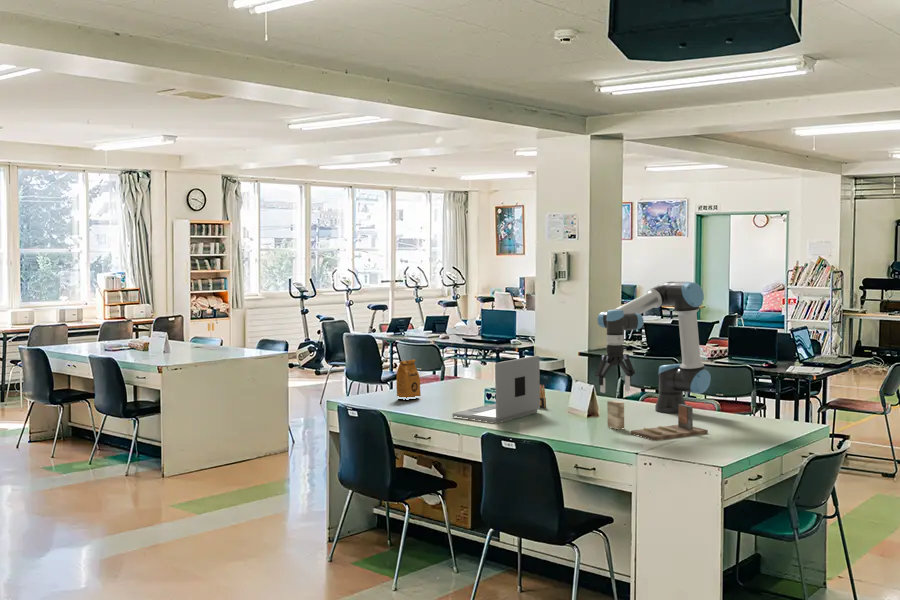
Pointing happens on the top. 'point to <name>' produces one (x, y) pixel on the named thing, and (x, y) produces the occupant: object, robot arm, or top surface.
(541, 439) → the top surface
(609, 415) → the maple finger
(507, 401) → the laptop
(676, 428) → the rail
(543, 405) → the ammunition clip
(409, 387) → the coffee package
